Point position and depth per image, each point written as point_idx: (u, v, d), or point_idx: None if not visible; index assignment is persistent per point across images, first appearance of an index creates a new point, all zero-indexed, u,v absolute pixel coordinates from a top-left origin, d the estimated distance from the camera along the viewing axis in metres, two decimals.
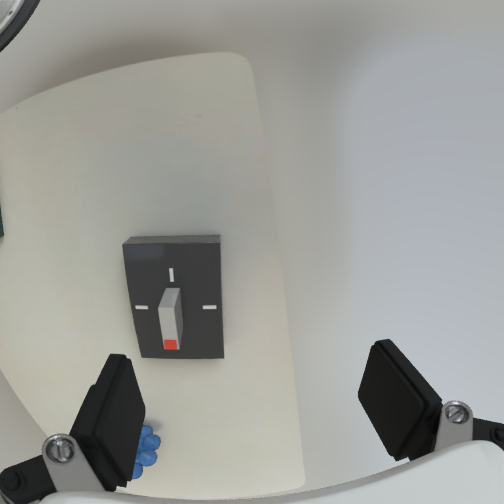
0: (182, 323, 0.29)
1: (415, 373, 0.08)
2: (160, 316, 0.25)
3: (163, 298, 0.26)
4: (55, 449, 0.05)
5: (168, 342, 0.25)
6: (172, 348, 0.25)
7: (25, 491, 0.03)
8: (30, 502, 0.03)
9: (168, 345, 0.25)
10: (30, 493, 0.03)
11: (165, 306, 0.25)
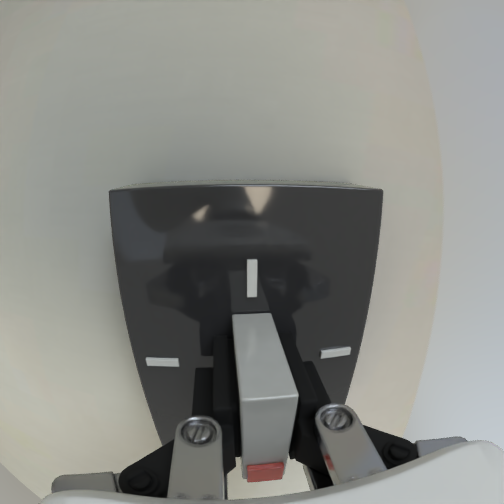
0: None
1: (300, 368, 0.08)
2: (246, 420, 0.07)
3: (242, 353, 0.08)
4: (192, 432, 0.06)
5: (260, 472, 0.07)
6: (268, 478, 0.07)
7: (160, 487, 0.05)
8: None
9: (259, 476, 0.07)
10: None
11: (264, 387, 0.07)
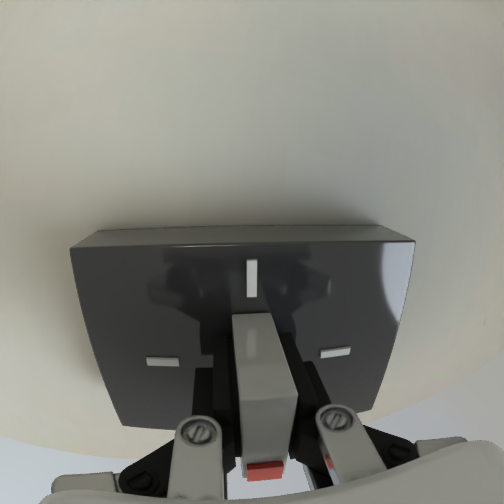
0: None
1: (300, 368, 0.08)
2: (246, 420, 0.07)
3: (241, 353, 0.08)
4: (191, 432, 0.06)
5: (260, 471, 0.07)
6: (268, 477, 0.07)
7: (160, 487, 0.05)
8: None
9: (259, 475, 0.07)
10: None
11: (264, 386, 0.07)
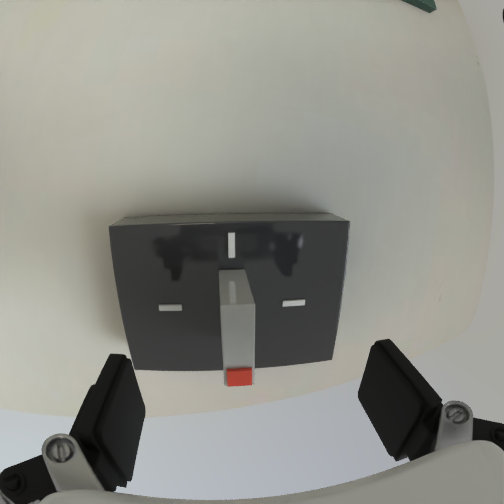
0: None
1: (415, 373, 0.08)
2: (224, 323, 0.12)
3: (223, 287, 0.14)
4: (55, 449, 0.05)
5: (236, 374, 0.13)
6: (242, 383, 0.13)
7: (25, 491, 0.03)
8: (30, 502, 0.03)
9: (235, 379, 0.13)
10: (30, 493, 0.03)
11: (235, 300, 0.12)
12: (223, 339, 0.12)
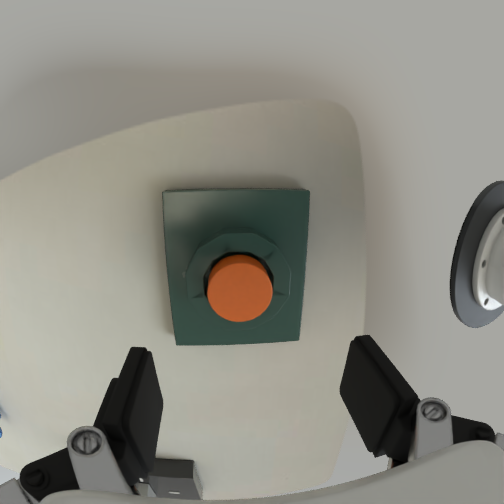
0: None
1: (392, 369, 0.08)
2: None
3: None
4: (81, 442, 0.05)
5: None
6: None
7: (49, 486, 0.04)
8: None
9: None
10: (53, 490, 0.04)
11: None
12: None
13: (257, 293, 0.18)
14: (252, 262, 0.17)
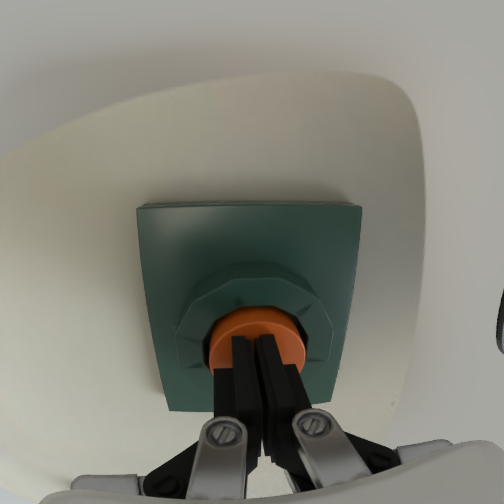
0: None
1: (280, 371, 0.08)
2: None
3: None
4: (217, 434, 0.06)
5: None
6: None
7: (187, 490, 0.05)
8: None
9: None
10: None
11: None
12: None
13: (283, 361, 0.11)
14: (277, 318, 0.11)
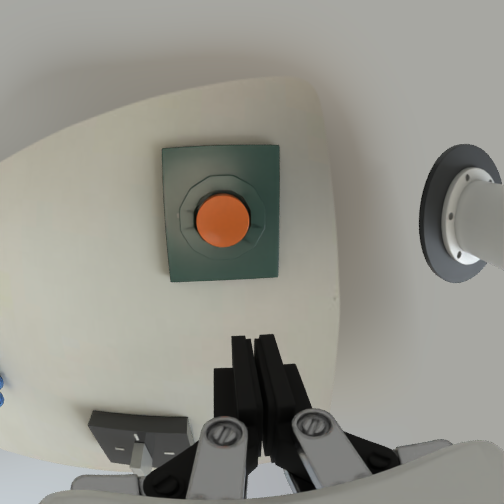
0: (151, 460, 0.30)
1: (279, 371, 0.08)
2: (132, 470, 0.26)
3: (132, 456, 0.27)
4: (217, 434, 0.06)
5: None
6: None
7: (187, 491, 0.05)
8: None
9: None
10: None
11: (134, 465, 0.26)
12: None
13: (236, 221, 0.22)
14: (232, 196, 0.22)
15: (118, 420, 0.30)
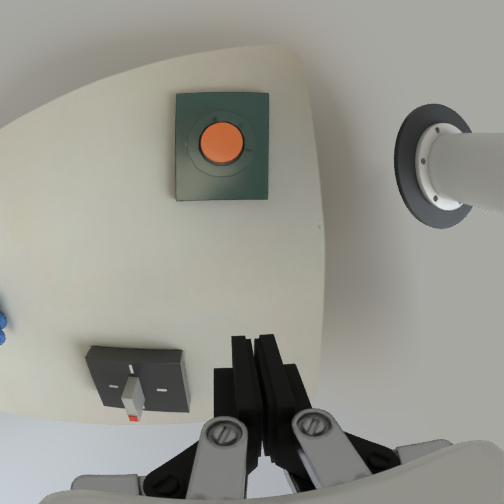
0: (143, 399, 0.35)
1: (280, 371, 0.08)
2: (123, 402, 0.30)
3: (125, 388, 0.32)
4: (217, 434, 0.06)
5: (131, 417, 0.31)
6: (134, 420, 0.31)
7: (187, 490, 0.05)
8: None
9: (131, 418, 0.31)
10: None
11: (126, 396, 0.30)
12: (124, 406, 0.30)
13: (232, 142, 0.26)
14: (230, 124, 0.26)
15: (115, 353, 0.35)
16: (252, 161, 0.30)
